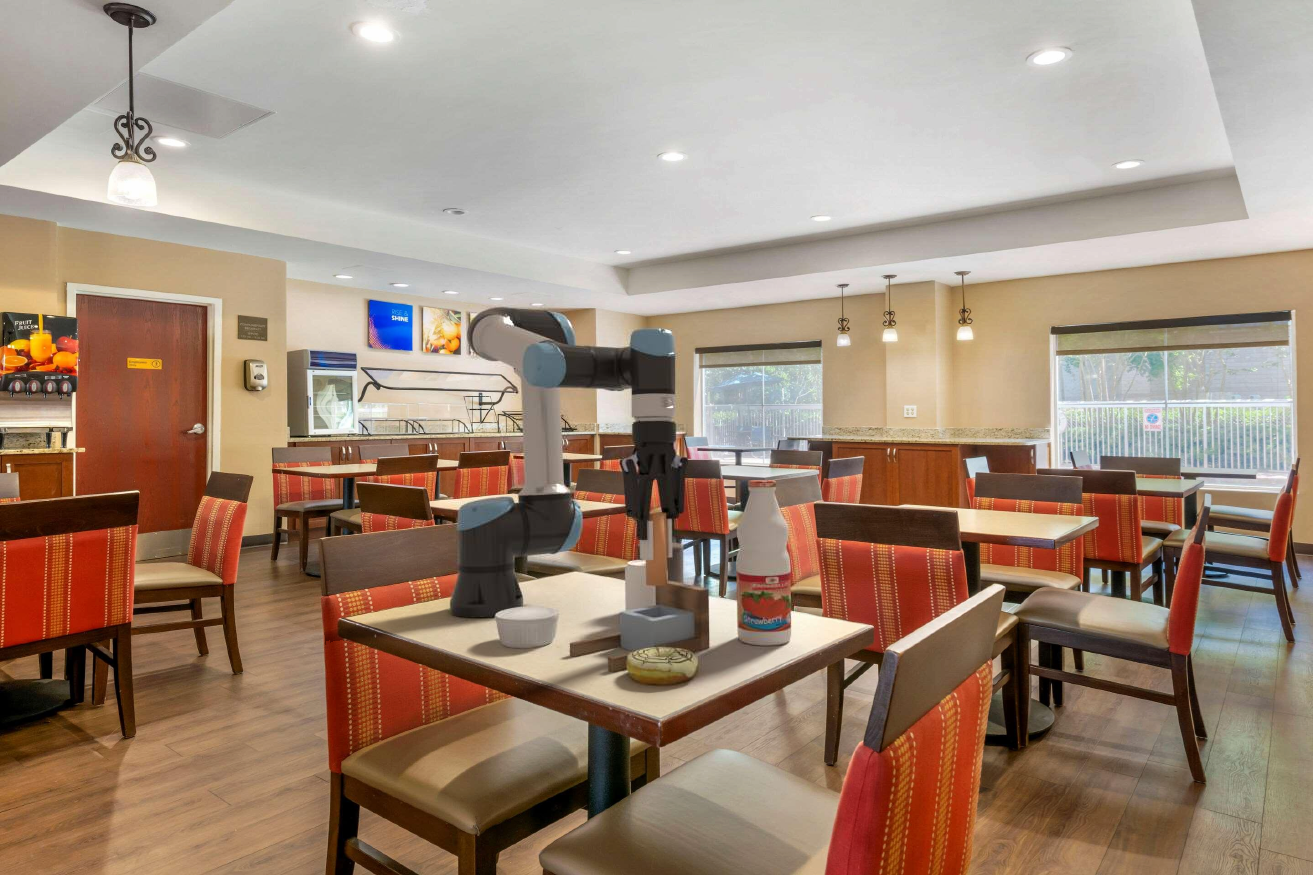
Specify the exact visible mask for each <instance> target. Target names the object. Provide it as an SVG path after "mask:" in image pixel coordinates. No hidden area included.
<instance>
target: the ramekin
mask: <svg viewBox="0 0 1313 875" xmlns="http://www.w3.org/2000/svg"><path fill="white" fill-rule="evenodd" d="M559 618H560V611H559V609H557V608H554V607H550V606H540V605H539V606H538V605H529V606H528V605H527V606H523V607H517V608H511V609H506V610H503V611H500V612H498V613H496V614H495V616H494V621H495V622H496V626H497V627H496V628H497V632H498V633H497V634H498V638H499V641H500V643H501V644H502V645H503V646H504V647H506V648H507V647H508V648H512V649H532V648H533V649H534V648H540V647H543V646H547V645H549V644H551V643H553V641H554V640H555V637H556V634H557V628H558V627H557V626H558V619H559Z"/></svg>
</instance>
